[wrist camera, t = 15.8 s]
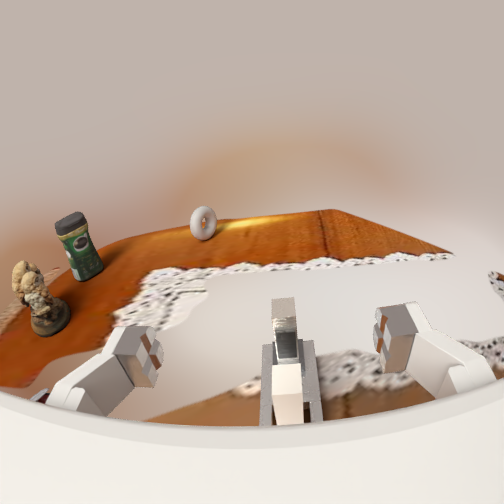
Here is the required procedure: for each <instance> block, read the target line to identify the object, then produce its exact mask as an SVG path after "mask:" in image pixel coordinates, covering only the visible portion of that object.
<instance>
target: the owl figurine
mask: <svg viewBox="0 0 504 504" xmlns="http://www.w3.org/2000/svg"><path fill="white" fill-rule="evenodd" d="M12 280H13V281H12V289H13V291H14V293H15V295H16V296H17V298H19V300H20V302H21V303H22V304H23V305H25V306H26V307H29V304H30V305H31V307H30V308H31V309H30V310H31V312H32V313H31V316H32V318H31V326H32V328H33V330H34V332H35V333H36V334H37V335H39V336H41V337H47V336H51V335H53V334H54V333H56V332H58V331H59V330H61V329H63V328H65V326H66V325H67V324H68V322H69V320H70V315H71V314H70V308H69V306H68V304H67V303H66V302H65V301H64V300H61V299H59V298H57V297H55V298H54V297H53V296H52V295H51V294H50V292H49V290H48V288H47V287H46V286H45V285H44V277H43V275H42V274H41V273H40V270H39V269H38V268H37V267H36V265H35V264H28V262H26V261H20V262H19V263H18V264H17V265H16V266H15V268H14V269H13V272H12ZM68 310H69V311H68ZM67 311H68V312H67ZM46 317H47V318H46Z"/></svg>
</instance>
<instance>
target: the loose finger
mask: <svg viewBox="0 0 504 504" xmlns="http://www.w3.org/2000/svg"><path fill="white" fill-rule="evenodd" d="M272 400H273V406H274V411H275V417H276V423H277V425H290V424H302V423H304V417H303V394H302V379H301V364H300V363H297V364H285V365H272Z"/></svg>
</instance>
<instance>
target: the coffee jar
mask: <svg viewBox="0 0 504 504" xmlns="http://www.w3.org/2000/svg"><path fill="white" fill-rule="evenodd" d="M55 229H56V232H57V236H58V238H59V239H60V240H61V241H62V243H63V245H64V248H65V250H66V253H67V256H68V259H69V263H70V266H71V269H72V272H73V275H74V277H75V279H76V280H78V281H86V280H88V279H90V278H91V277H93V276H94V275H96V274H97V273H99V272H100V271H102V269H103V267H104V265H103V263H102V261H101V259H100V257H99V255H98V253H97V251H96V249H95V247H94V245H93V243H92V241H91V238H90V236H89V233H88V223H87V221H86V219H85V217H84V215H83V214H82V213H81V212H75V213H73V214H71V215H69V216H67V217H65V218H63V219H61V220H59V221H58V222H56V223H55Z"/></svg>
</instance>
